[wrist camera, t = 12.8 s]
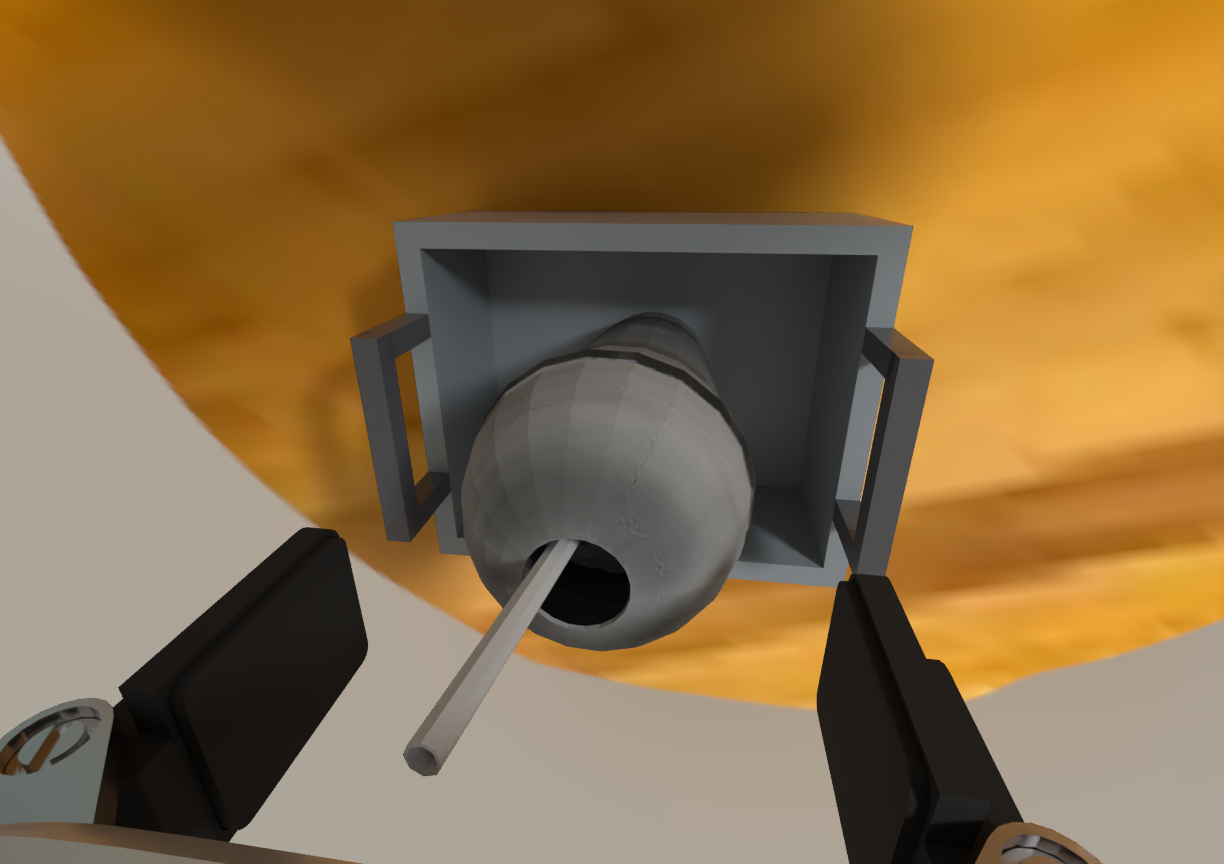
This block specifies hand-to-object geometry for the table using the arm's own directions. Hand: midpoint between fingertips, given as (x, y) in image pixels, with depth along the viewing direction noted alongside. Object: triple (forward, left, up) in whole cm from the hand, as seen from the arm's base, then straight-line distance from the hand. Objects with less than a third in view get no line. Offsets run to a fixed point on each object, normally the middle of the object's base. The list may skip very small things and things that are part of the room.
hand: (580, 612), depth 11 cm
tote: (0, 0, -17) cm, 17 cm away
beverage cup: (0, 0, -16) cm, 16 cm away
